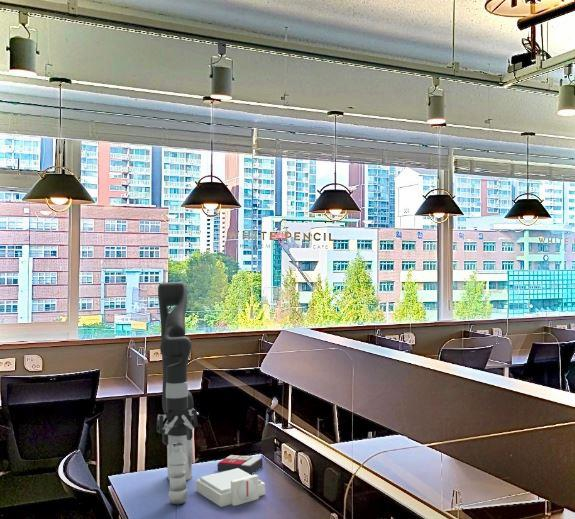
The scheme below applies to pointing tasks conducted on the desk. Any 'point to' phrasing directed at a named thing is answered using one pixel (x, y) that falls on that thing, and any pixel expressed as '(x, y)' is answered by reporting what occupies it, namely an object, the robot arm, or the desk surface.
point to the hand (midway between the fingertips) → (177, 442)
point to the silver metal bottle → (177, 475)
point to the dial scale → (230, 487)
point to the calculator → (240, 463)
